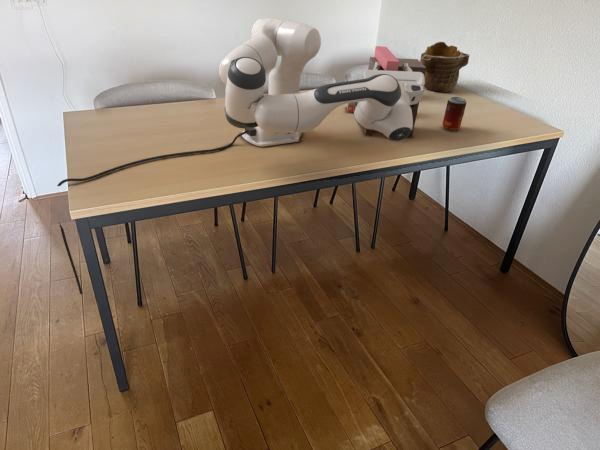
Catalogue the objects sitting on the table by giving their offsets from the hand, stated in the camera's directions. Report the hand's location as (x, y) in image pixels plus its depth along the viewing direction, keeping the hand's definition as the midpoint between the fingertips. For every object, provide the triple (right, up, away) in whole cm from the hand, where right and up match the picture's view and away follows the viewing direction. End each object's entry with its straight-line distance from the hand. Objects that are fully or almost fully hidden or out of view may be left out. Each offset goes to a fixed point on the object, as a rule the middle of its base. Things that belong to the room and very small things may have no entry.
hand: (391, 63), depth 150 cm
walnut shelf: (+3, -17, +25) cm, 31 cm away
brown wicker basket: (+38, +15, +76) cm, 87 cm away
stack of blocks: (0, -6, +42) cm, 43 cm away
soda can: (+30, -15, +31) cm, 46 cm away
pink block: (0, +3, +8) cm, 9 cm away
